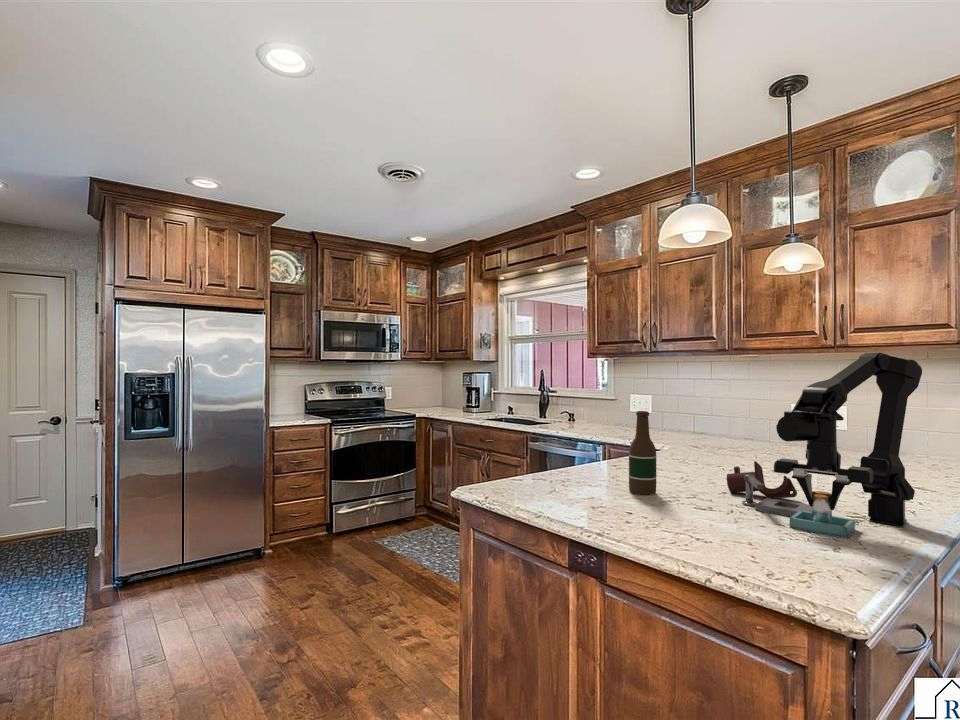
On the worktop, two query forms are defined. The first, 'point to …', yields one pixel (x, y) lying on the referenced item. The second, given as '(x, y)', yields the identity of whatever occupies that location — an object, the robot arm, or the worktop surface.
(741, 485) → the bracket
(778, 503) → the hitch plate
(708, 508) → the worktop surface
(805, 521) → the tray
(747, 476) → the bar
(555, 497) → the worktop surface
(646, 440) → the beer bottle
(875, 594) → the worktop surface
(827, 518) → the jar with golden lid
